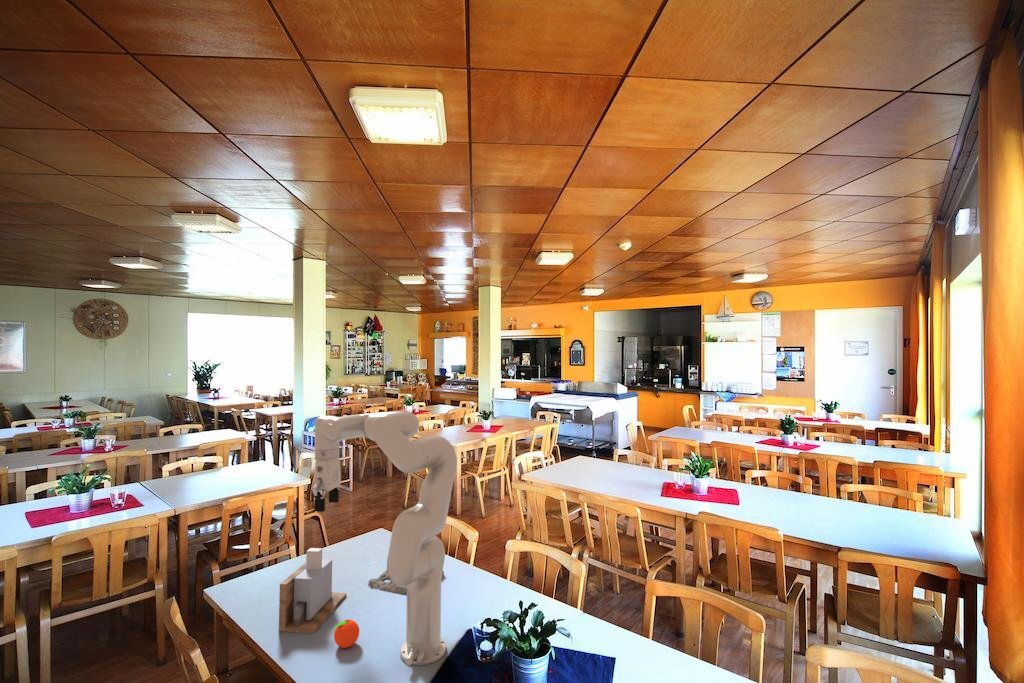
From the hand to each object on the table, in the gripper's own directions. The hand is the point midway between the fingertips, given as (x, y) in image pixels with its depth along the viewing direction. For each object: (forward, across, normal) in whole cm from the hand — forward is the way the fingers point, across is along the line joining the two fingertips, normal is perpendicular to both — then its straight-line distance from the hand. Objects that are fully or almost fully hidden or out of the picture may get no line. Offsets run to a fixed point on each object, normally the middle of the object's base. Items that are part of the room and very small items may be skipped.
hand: (326, 506), depth 153 cm
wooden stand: (+34, 0, +4) cm, 34 cm away
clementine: (+34, -17, -14) cm, 41 cm away
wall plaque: (+35, +24, -20) cm, 46 cm away
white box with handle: (+32, 0, +4) cm, 32 cm away
